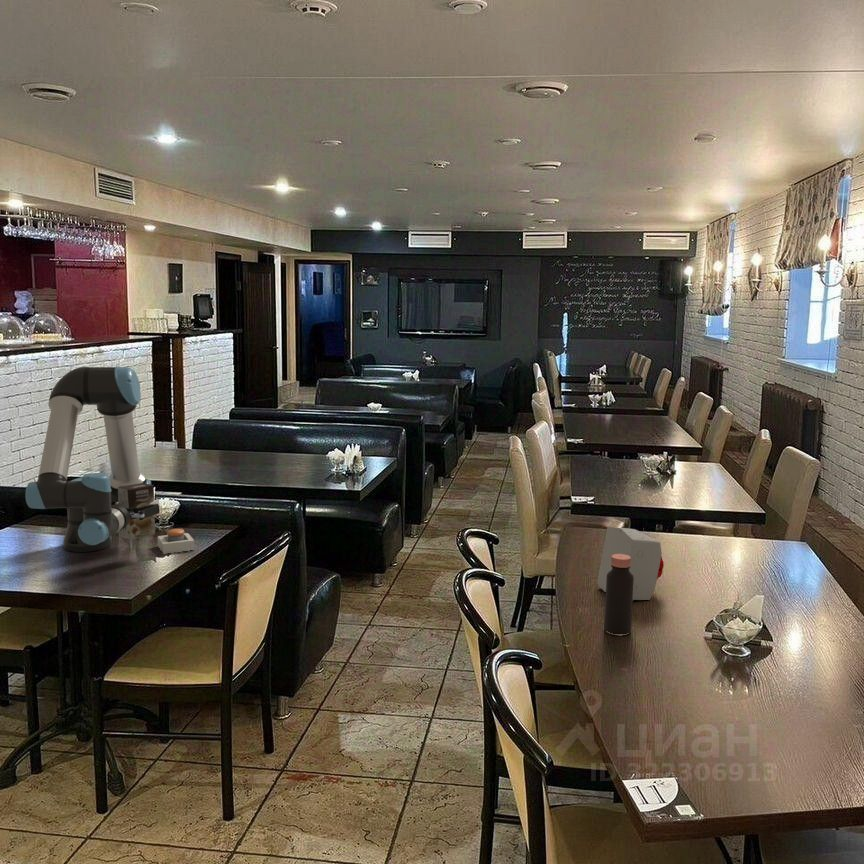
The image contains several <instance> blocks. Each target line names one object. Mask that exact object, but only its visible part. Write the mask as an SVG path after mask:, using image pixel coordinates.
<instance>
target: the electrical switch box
mask: <svg viewBox="0 0 864 864" xmlns="http://www.w3.org/2000/svg"><path fill="white" fill-rule="evenodd" d="M605 533H606V534H605V538H604V543H603V549H602V553H601V554H602V555H601V560H600V565H599V571H598V577H597V582H596V583H597V585H598V586H599V587H600V589H601V590H602V591H603V592H604V593H605V592H606V578H607V574H608V572H610V571H611V570H612V567H611V556H612V555H614V554H625V555H628V556H630V557H631V566H630V568H629V571H630V572H631V574H632V575H633V577H634V583H633V601H634V600H649V601H650V600H651V598H652V596H653V594H654V592H655V590H656V586H657V585H656V584H657V580H659V578H661V577H662V575H663V570H664V560H663V555H662V553H663V552H662V545H661V542H660V541H659V540H656V539H655V538H653V537H650V536H649V535H647V534H645V533H643V532H641V531H639V530H638V529H635V528H628V527H618V526H617V527H616V526H607V527H606V532H605Z"/></svg>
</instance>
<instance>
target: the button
mask: <svg viewBox="0 0 864 864" xmlns="http://www.w3.org/2000/svg"><path fill="white" fill-rule="evenodd" d="M184 533H185V529H183V528H171V529H168V530H166V535H168V542H174V541H183V540H184Z"/></svg>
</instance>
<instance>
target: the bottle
mask: <svg viewBox="0 0 864 864" xmlns="http://www.w3.org/2000/svg"><path fill="white" fill-rule="evenodd" d="M630 566H631V557H630V556H628V555H625V554H614V555H612V556H611V567H612V570H611V571H610V572H608V574H607V578H606V593H605V602H604V603H605V604H604V620H603V621H604V622H603V630H604V629H605V631H608V632H610V633H613V634H627V633H630V634H631V633H632V620H633V619H632V617H633V616H632V615H633V601H634V600H633V583H634V577H633V575H632V574H631V572H630V571H629V568H630ZM605 631H604V632H605Z"/></svg>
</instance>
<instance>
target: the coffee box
mask: <svg viewBox="0 0 864 864" xmlns="http://www.w3.org/2000/svg"><path fill="white" fill-rule="evenodd" d="M153 501H155V485H154V484H152V483H151V484H144V483H139V484H133V485H126V486H120V487H118V505H120V506H123V507H124V508H132V507H135V508H139V507H143V506H148V505H149V504H150V503H151V502H153ZM132 511H133V510H132ZM155 518H156V517H155V515H153V516H150V517H147V518H145V519H143V520H139V517H137V518H136V519H132V520H130V522H129V523H128V525H127V526H126V527H125V528H123V529H122V530H120V531H118V536H119V537H120V538H124V539H128V540H134V539H139V538H143V537H147V536H152V535H155V534H156V524H155V520H156V519H155Z"/></svg>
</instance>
